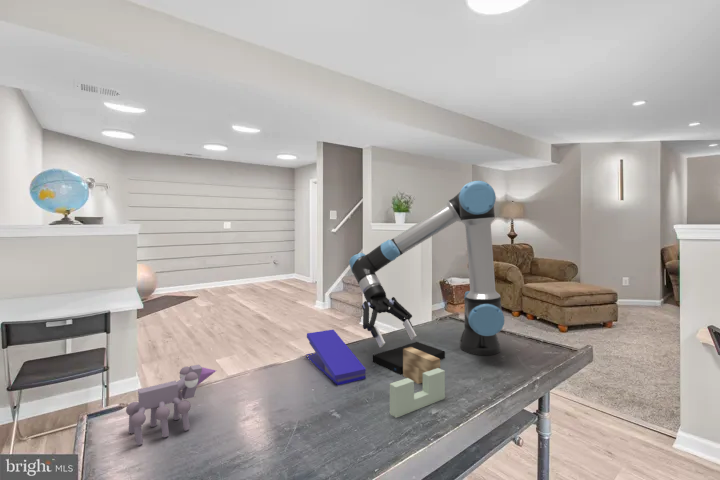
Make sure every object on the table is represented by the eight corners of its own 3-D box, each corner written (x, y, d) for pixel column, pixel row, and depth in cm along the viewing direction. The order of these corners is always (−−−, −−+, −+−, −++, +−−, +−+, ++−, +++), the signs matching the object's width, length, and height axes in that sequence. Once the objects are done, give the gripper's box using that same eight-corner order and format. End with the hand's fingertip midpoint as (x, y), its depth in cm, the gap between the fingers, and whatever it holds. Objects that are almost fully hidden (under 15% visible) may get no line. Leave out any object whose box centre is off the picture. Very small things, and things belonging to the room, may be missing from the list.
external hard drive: (444, 359, 131) (444, 351, 131) (400, 376, 117) (400, 367, 116) (416, 349, 142) (416, 341, 142) (372, 363, 128) (372, 354, 128)
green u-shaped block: (438, 395, 103) (438, 367, 102) (444, 398, 100) (444, 370, 100) (389, 413, 92) (389, 383, 92) (395, 418, 90) (395, 387, 90)
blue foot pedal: (331, 352, 138) (331, 327, 138) (368, 379, 114) (367, 349, 114) (303, 358, 133) (303, 332, 132) (335, 387, 108) (335, 356, 108)
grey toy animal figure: (212, 404, 98) (211, 356, 97) (224, 421, 89) (222, 368, 89) (126, 430, 86) (124, 375, 85) (130, 452, 77) (128, 391, 77)
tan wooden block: (403, 375, 116) (403, 348, 115) (411, 373, 118) (411, 346, 117) (431, 391, 105) (432, 361, 105) (440, 388, 107) (440, 358, 107)
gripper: (394, 292, 139) (420, 340, 128) (339, 299, 126) (363, 354, 114) (403, 280, 135) (431, 329, 123) (347, 287, 121) (373, 342, 109)
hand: (398, 341), depth 118 cm, fingers open, 13 cm apart
